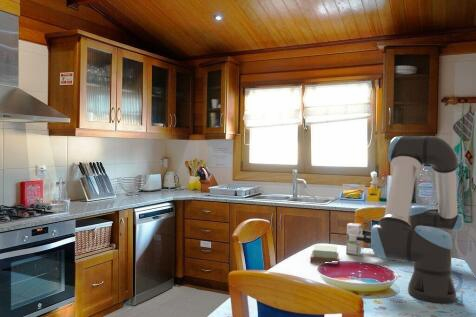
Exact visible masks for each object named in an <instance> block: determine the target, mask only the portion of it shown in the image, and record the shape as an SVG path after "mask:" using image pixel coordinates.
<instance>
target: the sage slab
mask: <svg viewBox="0 0 476 317" xmlns="http://www.w3.org/2000/svg"><path fill="white" fill-rule="evenodd" d="M337 248H338V247H337V246H334V245H331V246H330V245H320V244H319V245H318V244H315V245H314V246H313V250H312V251H313V257H323V258H335V259H336V255H337V253H338V252H337V250H338V249H337Z"/></svg>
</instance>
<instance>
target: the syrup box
mask: <svg viewBox="0 0 476 317" xmlns="http://www.w3.org/2000/svg"><path fill="white" fill-rule="evenodd" d="M361 230H362V223H357V222H354V223H353V222H349V223H347V224H346V247H345V248H346V249H345V250H346V252H345V254H347V255H352V256H353V255H354V256H359V255H360V254H361V253H362V242H361V241H349V235H361Z"/></svg>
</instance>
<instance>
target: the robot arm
mask: <svg viewBox="0 0 476 317" xmlns="http://www.w3.org/2000/svg"><path fill="white" fill-rule="evenodd" d="M388 146H389V147H388V154H387V159H388V162H389V163H390V166H391V167H392V168H393V170H392V176H391V180H390V181H391V182H390V187H389V191H388V195H387V202H386V205H385V211H384V216H382V217H381V218H380V219H378V224H373V225H372V227H371V229H365V228H364V229H361V235H349V241H361V243H366V244H371V250H372V252H373V254H374V255H375V256H376V257H380V258H384V259H386V260H387V259H389V260H397V261H402V262H408V263H412V264H413V266H414V267H413V272H412V275H411V278H410V280H409V283H408V286H407V293H408V294H409V295H410V296H412V297H413V298H416V299H418V300H421V301H426V302H429V303H430V302H431V303H437V304H448V303H454V302H455V301H456V300H457V290H456V288H455V285H454V282H453V279H452V252H453V239H452V235H451V234H450V233H449V232H447V231H458V232H459V231H460V232H461V231H462V230H463V228H464V215H463V214H461V213H458V198H457V197H458V195H457V175H456V173H457V172H456V171H457V169H458V168H459V159H458V157H457V153H456V151H455V150H454V148H453V147H452V146H451V145H450V143H448V142H447V141H446V140H445V139H443V138H441V137H439V136H434V135H422V136H421V135H417V136H416V135H412V136H411V135H410V136H409V135H408V136H407V135H402V136H395V137H393V138H392V139H391V141H390V142H389V145H388ZM422 165H427V166H428V165H429V166H431V169H432V170H433V172H434V174H435V176H434V177H435V186H436V187H435V188H436V200H437V211H432V210H429V209H428V207H427V206H424V205H418V204H417V205H412V200H413V195H414V188H415V182H416V176H417V172H419V171H421V169H422ZM411 205H412V206H411ZM446 230H447V231H446Z"/></svg>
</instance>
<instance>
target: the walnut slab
mask: <svg viewBox="0 0 476 317" xmlns="http://www.w3.org/2000/svg"><path fill="white" fill-rule="evenodd" d="M339 254H340V253H339V252H337V255H336V259H335V258H323V257H313V250H312V252H311V255H310V263H313V264H322V263H325V262H332V261H338V262H339V260H340V259H339V257H340V256H339Z"/></svg>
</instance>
